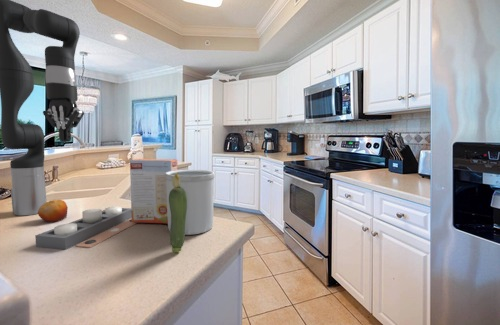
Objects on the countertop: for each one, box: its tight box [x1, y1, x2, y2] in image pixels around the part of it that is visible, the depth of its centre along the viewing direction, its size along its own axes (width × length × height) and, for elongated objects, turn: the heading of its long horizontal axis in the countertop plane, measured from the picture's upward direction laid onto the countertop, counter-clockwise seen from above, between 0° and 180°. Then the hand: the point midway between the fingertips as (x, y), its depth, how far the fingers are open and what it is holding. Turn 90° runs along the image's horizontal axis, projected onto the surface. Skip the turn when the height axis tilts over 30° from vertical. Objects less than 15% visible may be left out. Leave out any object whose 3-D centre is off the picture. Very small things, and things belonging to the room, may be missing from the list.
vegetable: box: [169, 173, 187, 254], centre depth 61 cm, size 4×4×20 cm
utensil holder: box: [165, 169, 216, 236], centre depth 77 cm, size 15×15×18 cm
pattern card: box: [74, 218, 139, 249], centre depth 75 cm, size 4×23×1 cm, turn 170°
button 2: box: [104, 205, 123, 215], centre depth 85 cm, size 5×5×3 cm
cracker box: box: [129, 158, 179, 225], centre depth 82 cm, size 14×6×21 cm, turn 84°
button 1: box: [53, 222, 77, 236], centre depth 67 cm, size 5×5×3 cm
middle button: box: [81, 208, 103, 224], centre depth 76 cm, size 5×5×3 cm
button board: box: [34, 207, 132, 250], centre depth 76 cm, size 9×27×3 cm, turn 170°
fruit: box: [37, 199, 68, 223], centre depth 85 cm, size 8×8×8 cm
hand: (65, 141), depth 76 cm, fingers closed
